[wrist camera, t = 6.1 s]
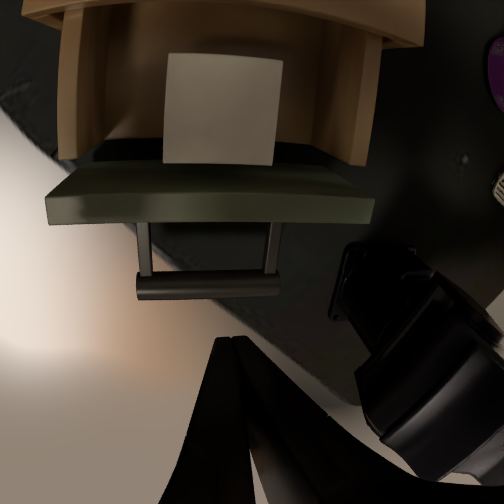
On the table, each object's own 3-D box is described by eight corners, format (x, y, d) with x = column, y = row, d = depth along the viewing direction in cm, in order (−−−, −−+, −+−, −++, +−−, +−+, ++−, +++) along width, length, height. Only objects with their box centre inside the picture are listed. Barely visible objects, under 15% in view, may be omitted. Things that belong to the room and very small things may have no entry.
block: (249, 145, 16) (272, 166, 12) (168, 143, 15) (162, 163, 11) (256, 68, 14) (283, 60, 10) (172, 63, 13) (168, 52, 9)
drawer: (307, 258, 21) (345, 313, 16) (94, 262, 18) (70, 324, 13) (343, -15, 13) (402, -41, 8) (98, -34, 10) (67, -77, 5)
